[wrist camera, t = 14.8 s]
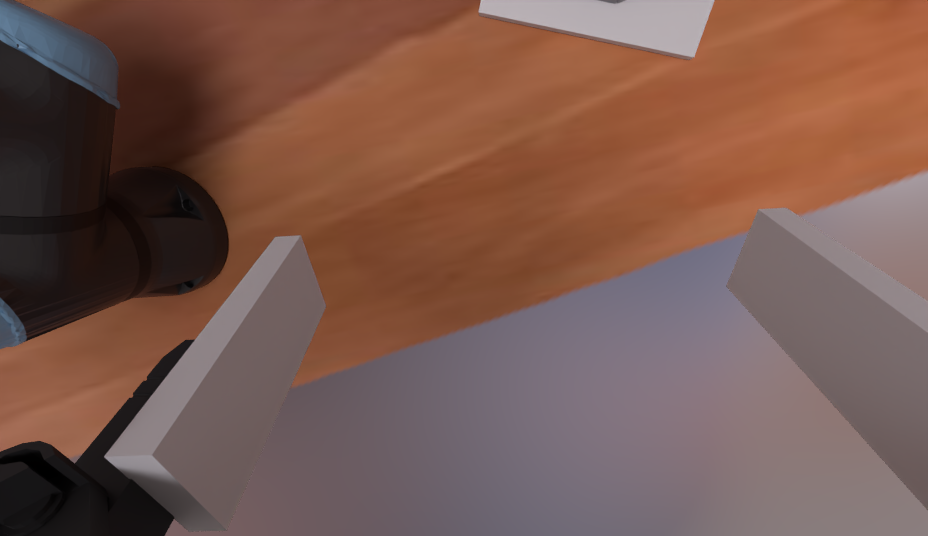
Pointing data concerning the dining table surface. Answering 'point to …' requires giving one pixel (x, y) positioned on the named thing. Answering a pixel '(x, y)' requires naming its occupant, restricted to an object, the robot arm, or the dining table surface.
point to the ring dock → (613, 21)
